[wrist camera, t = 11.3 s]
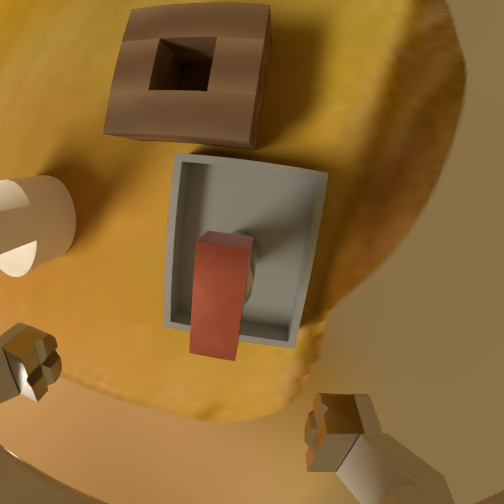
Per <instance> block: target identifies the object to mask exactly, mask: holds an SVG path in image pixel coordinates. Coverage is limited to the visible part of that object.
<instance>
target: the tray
mask: <svg viewBox="0 0 504 504" xmlns="http://www.w3.org/2000/svg"><path fill="white" fill-rule="evenodd" d="M328 176H329V173H326V172H321V171H315V170H310V169H304V168H298V167H292V166H286V165H279V164H272V163H266V162H258V161H251V160H243V159H235V158H226V157H217V156H207V155H196V154H185V153H175V157H174V166H173V174H172V183H171V193H170V204H169V215H168V228H167V242H166V259H165V281H164V327H169V328H174V329H178V330H183V331H188V332H190V328H191V309H192V293H193V278H194V265H195V253H196V241H197V240H198V239H200V238H201V237H202V236H203V235H204V234H205V233H206V232H207V231H208V230H210V231H217V232H224V233H232V232H235V231H245V232H248V233H250V234H251V235H252V236H253V237H254V238H255V239H256V240H257V242H258V245H259V254H258V260H257V265H256V271H255V276H254V282H253V287H252V292H251V296H250V298H249V300H248V301H247V303H246V304H245V305H244V310H243V318H242V325H241V332H240V338H239V341H244V342H250V343H256V344H263V345H270V346H278V347H285V348H293V349H294V347H295V343H296V338H297V334H298V330H299V326H300V322H301V317H302V313H303V308H304V304H305V299H306V295H307V290H308V285H309V281H310V276H311V271H312V266H313V261H314V256H315V251H316V246H317V240H318V235H319V230H320V224H321V218H322V213H323V207H324V201H325V195H326V189H327V182H328Z"/></svg>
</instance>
